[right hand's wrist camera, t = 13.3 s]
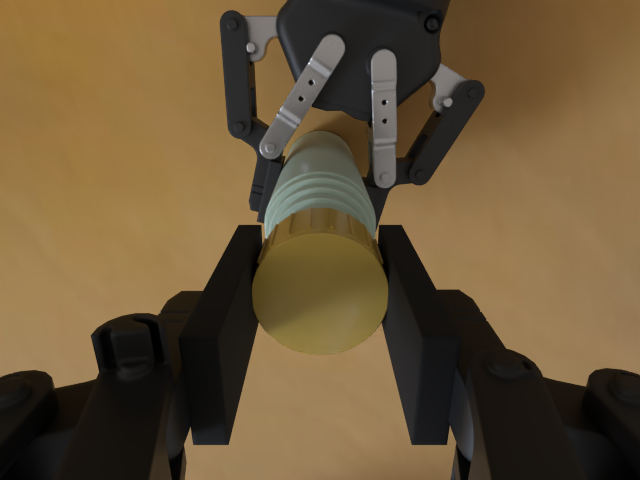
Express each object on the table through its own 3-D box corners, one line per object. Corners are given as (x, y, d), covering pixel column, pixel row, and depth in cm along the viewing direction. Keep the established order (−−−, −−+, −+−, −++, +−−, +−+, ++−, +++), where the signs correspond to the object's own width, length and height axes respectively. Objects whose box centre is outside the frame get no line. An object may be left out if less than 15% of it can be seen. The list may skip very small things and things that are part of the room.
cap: (398, 227, 14) (412, 256, 12) (355, 327, 15) (361, 370, 13) (279, 189, 14) (271, 213, 11) (247, 296, 15) (234, 336, 13)
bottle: (366, 155, 30) (433, 272, 12) (328, 208, 32) (339, 380, 14) (311, 116, 29) (297, 182, 11) (274, 173, 31) (211, 309, 13)
